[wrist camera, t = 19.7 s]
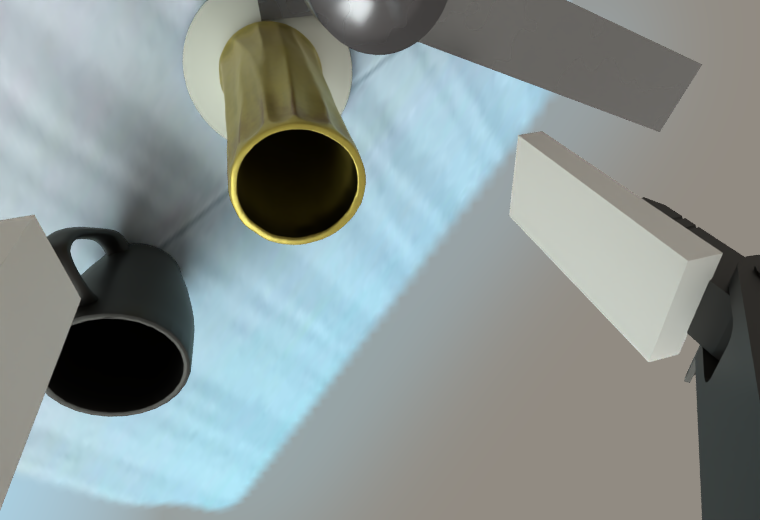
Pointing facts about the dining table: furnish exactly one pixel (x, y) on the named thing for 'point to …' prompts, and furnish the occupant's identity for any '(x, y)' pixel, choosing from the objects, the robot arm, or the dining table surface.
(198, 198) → the dining table surface
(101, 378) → the mug
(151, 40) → the dining table surface
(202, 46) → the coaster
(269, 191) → the vase
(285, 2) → the post
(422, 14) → the bar
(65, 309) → the robot arm
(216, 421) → the dining table surface
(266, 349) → the dining table surface
